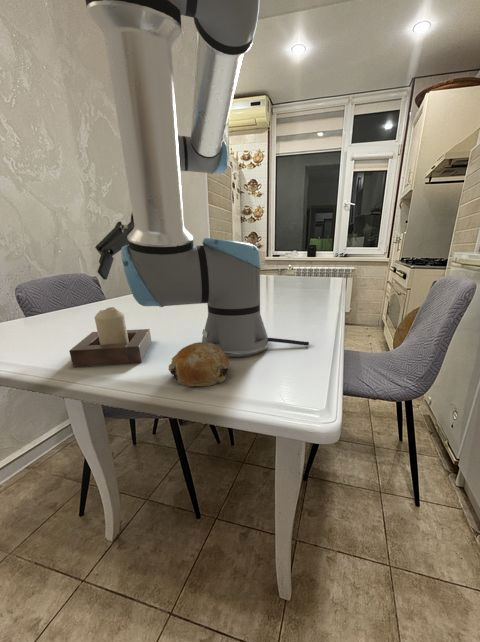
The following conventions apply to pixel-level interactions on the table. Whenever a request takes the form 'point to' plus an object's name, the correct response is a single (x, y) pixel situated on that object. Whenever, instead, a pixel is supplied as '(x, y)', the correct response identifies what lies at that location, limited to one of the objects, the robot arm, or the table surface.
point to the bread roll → (199, 365)
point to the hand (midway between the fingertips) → (129, 276)
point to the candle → (111, 327)
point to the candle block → (111, 350)
